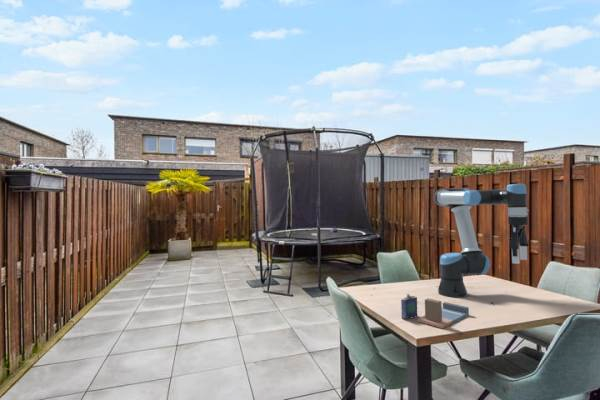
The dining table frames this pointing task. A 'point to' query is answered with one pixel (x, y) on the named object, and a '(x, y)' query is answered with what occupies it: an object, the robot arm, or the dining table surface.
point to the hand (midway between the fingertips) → (519, 261)
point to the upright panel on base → (434, 314)
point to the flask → (409, 307)
